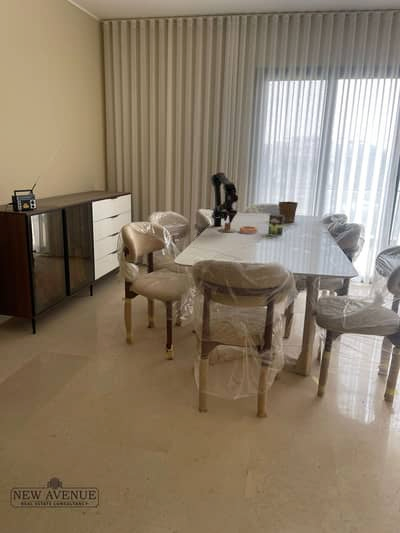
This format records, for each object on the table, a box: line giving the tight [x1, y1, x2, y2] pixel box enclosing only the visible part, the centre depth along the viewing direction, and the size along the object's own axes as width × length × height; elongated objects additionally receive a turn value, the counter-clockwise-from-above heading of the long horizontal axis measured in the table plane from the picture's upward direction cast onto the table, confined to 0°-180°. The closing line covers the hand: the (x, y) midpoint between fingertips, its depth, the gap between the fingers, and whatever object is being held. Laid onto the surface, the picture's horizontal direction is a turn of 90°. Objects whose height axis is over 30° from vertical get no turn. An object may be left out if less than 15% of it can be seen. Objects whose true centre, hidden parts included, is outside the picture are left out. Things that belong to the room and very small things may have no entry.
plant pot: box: [278, 201, 299, 224], centre depth 328 cm, size 16×16×16 cm
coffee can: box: [267, 213, 284, 237], centre depth 278 cm, size 10×10×14 cm
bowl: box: [239, 225, 259, 235], centre depth 285 cm, size 12×12×4 cm
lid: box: [218, 222, 237, 234], centre depth 286 cm, size 13×13×6 cm
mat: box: [214, 228, 239, 234], centre depth 287 cm, size 14×14×1 cm
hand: (227, 222), depth 285 cm, fingers open, 9 cm apart
